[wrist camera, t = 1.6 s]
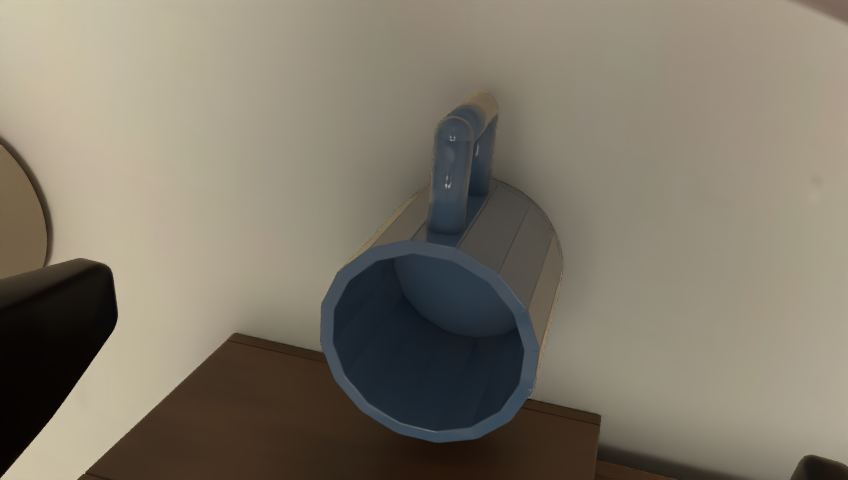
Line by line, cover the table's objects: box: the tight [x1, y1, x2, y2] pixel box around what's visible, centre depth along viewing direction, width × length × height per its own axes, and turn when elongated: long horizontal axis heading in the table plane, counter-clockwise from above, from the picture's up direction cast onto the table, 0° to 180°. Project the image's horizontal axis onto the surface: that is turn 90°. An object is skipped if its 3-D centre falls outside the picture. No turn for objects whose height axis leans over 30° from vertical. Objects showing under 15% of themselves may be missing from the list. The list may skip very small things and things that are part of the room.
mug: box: [320, 92, 563, 443], centre depth 22 cm, size 9×6×6 cm, turn 175°
